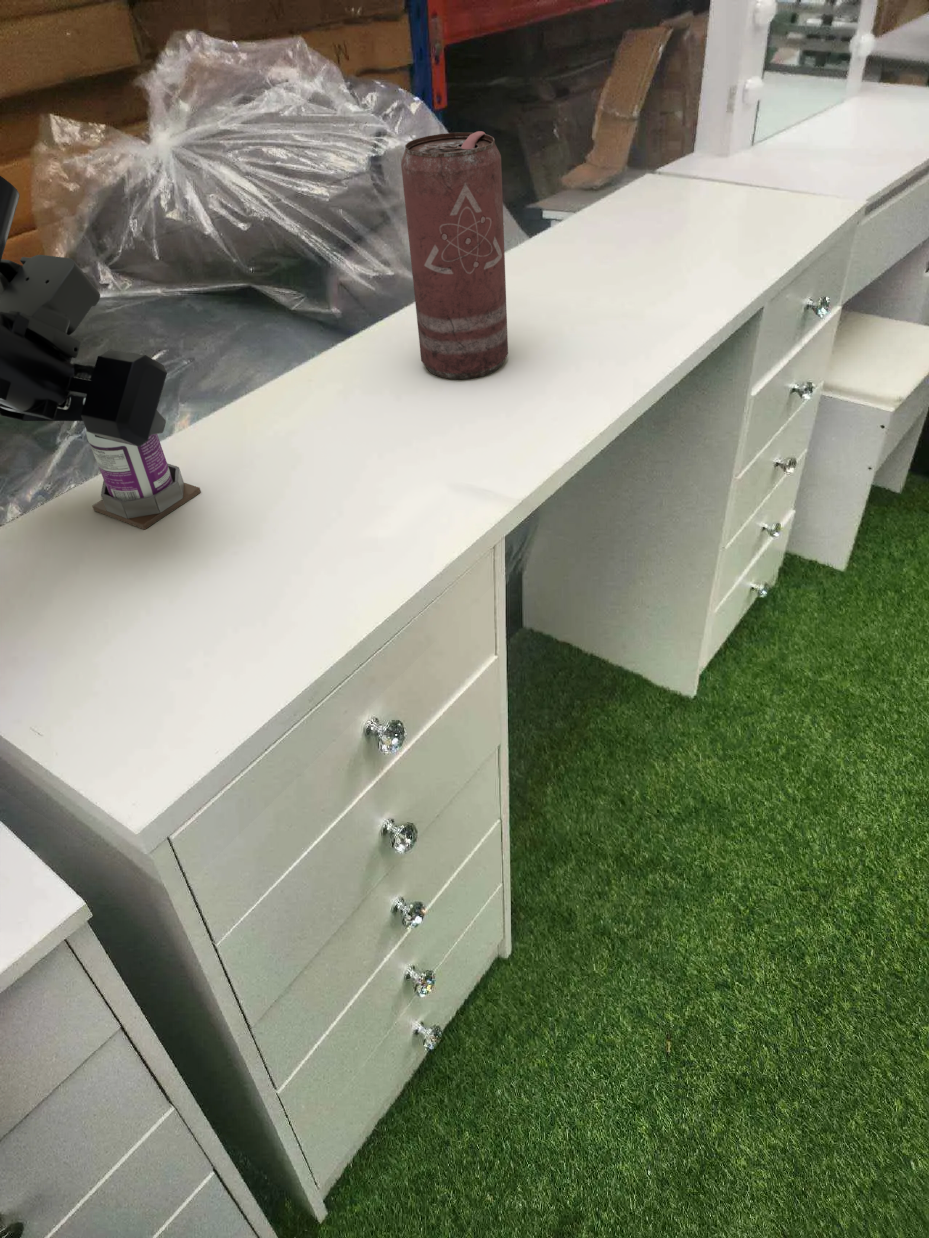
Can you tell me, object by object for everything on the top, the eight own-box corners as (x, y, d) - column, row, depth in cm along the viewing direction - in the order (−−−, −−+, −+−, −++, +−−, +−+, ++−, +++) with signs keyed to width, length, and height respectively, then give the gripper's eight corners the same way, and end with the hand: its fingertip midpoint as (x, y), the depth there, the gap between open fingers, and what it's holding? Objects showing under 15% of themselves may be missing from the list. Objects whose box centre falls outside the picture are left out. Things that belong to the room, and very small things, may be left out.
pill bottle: (160, 474, 79) (127, 374, 73) (186, 497, 76) (153, 394, 69) (103, 497, 76) (63, 396, 70) (127, 521, 73) (88, 417, 67)
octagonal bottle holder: (144, 530, 73) (136, 508, 72) (93, 510, 76) (85, 490, 75) (201, 492, 77) (195, 471, 76) (150, 475, 80) (143, 455, 79)
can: (526, 352, 95) (521, 131, 81) (477, 388, 89) (463, 155, 75) (456, 338, 100) (440, 125, 86) (404, 371, 94) (378, 148, 80)
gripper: (102, 240, 55) (248, 342, 69) (-90, 220, 62) (78, 316, 76) (54, 409, 55) (210, 475, 69) (-134, 369, 62) (44, 437, 76)
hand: (133, 420), depth 73 cm, fingers open, 6 cm apart
